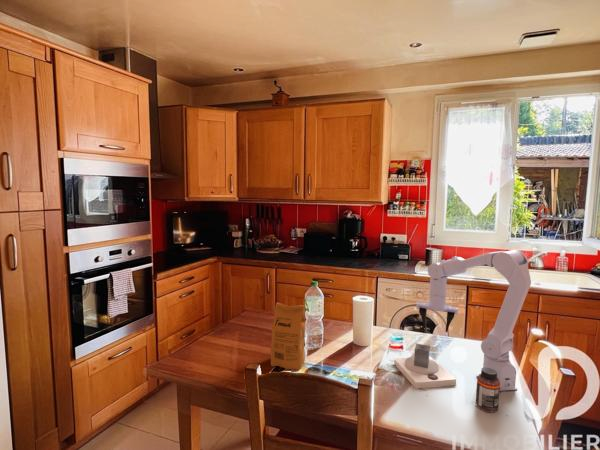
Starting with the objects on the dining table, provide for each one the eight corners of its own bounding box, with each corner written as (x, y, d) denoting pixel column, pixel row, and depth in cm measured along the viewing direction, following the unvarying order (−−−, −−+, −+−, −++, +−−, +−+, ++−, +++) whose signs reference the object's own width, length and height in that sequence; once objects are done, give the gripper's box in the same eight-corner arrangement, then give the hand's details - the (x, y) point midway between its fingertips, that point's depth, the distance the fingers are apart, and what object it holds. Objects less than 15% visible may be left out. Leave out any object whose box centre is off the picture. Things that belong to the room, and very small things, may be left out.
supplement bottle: (478, 398, 108) (480, 363, 107) (500, 406, 105) (503, 369, 104) (472, 407, 104) (475, 370, 103) (495, 416, 100) (498, 377, 99)
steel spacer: (428, 362, 125) (429, 346, 124) (427, 368, 121) (428, 351, 120) (415, 359, 127) (416, 343, 126) (413, 365, 123) (414, 348, 122)
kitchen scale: (455, 385, 116) (456, 376, 115) (415, 388, 113) (416, 380, 113) (429, 361, 131) (430, 354, 131) (394, 363, 129) (394, 356, 129)
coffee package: (276, 354, 135) (277, 297, 133) (308, 359, 131) (309, 301, 129) (266, 366, 126) (266, 306, 123) (299, 373, 122) (300, 310, 120)
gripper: (458, 294, 134) (456, 328, 136) (418, 288, 140) (416, 322, 141) (458, 299, 128) (456, 335, 129) (416, 293, 134) (414, 328, 135)
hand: (435, 329), depth 135 cm, fingers open, 7 cm apart
